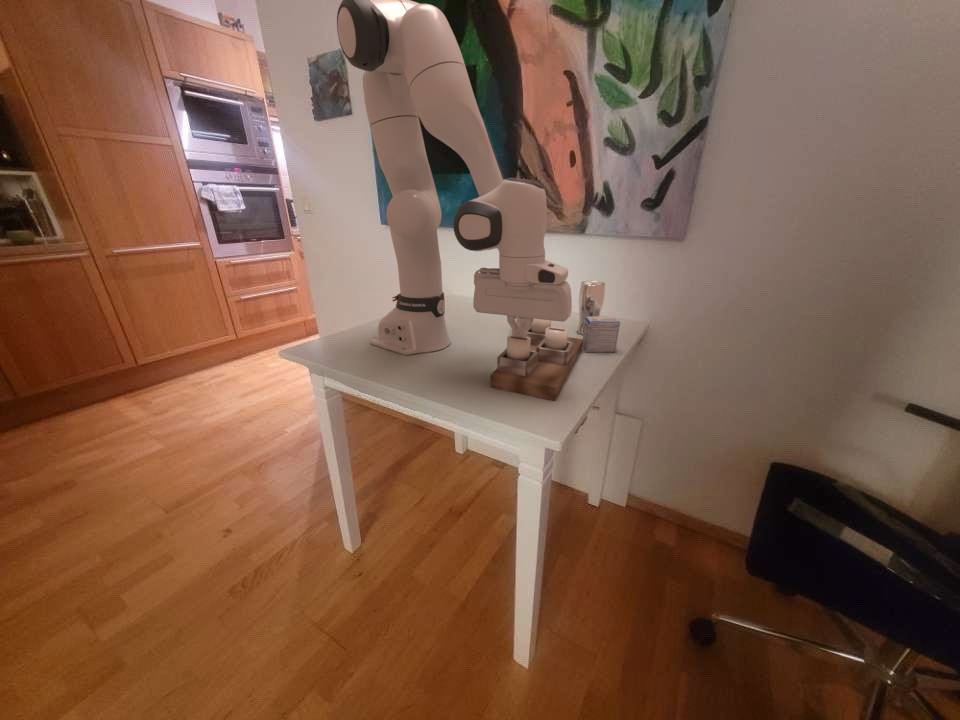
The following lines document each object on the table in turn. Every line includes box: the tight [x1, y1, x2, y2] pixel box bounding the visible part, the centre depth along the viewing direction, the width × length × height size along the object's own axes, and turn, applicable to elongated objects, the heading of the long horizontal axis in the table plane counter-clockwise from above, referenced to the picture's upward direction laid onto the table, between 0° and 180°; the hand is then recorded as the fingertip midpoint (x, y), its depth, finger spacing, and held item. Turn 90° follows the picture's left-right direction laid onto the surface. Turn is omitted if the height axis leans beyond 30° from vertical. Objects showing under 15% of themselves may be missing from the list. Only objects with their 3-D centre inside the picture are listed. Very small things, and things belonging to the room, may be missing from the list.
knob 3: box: [544, 325, 569, 350], centre depth 83 cm, size 5×5×4 cm
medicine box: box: [582, 315, 621, 353], centre depth 96 cm, size 8×4×9 cm, turn 92°
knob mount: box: [489, 325, 583, 402], centre depth 87 cm, size 14×30×6 cm, turn 156°
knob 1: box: [506, 334, 531, 360], centre depth 78 cm, size 5×5×4 cm
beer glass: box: [576, 280, 606, 336], centre depth 108 cm, size 7×7×15 cm
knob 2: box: [531, 319, 552, 334], centre depth 93 cm, size 5×5×4 cm
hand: (519, 336), depth 77 cm, fingers closed
